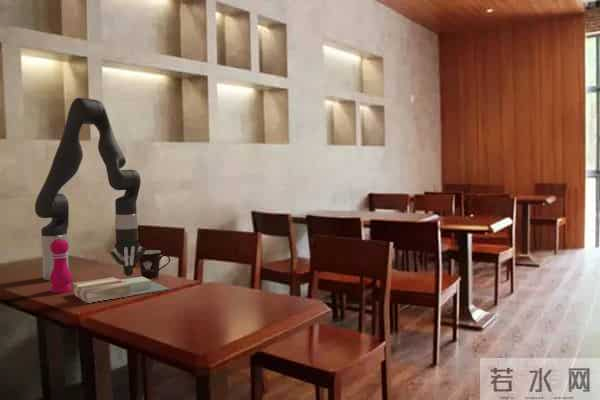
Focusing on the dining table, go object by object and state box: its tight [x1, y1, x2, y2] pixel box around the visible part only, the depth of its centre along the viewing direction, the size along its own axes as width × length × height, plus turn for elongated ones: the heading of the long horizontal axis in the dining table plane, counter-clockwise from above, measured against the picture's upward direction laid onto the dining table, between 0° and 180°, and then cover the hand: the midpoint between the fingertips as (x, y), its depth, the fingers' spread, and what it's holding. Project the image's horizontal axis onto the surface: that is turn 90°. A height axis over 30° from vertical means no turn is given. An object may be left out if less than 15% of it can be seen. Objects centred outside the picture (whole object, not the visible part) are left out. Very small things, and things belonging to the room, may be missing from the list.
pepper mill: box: [49, 235, 73, 294], centre depth 191 cm, size 7×7×20 cm
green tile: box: [119, 276, 152, 292], centre depth 192 cm, size 8×9×3 cm
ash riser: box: [72, 277, 130, 304], centre depth 185 cm, size 16×14×4 cm
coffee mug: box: [138, 249, 171, 280], centre depth 212 cm, size 12×9×10 cm
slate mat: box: [130, 280, 170, 297], centre depth 193 cm, size 16×14×1 cm
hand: (128, 275), depth 190 cm, fingers closed
